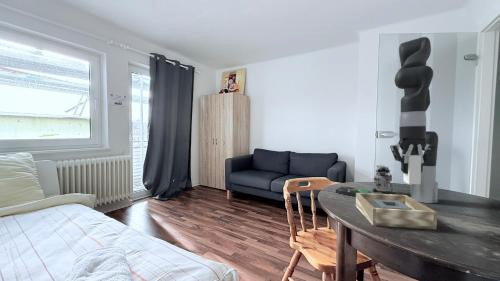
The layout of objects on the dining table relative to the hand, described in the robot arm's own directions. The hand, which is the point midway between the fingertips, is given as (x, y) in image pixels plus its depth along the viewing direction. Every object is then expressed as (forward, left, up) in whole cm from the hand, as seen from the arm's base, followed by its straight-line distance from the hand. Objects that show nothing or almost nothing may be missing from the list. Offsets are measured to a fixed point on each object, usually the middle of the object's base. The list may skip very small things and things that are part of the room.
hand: (411, 173), depth 77 cm
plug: (0, 0, -3) cm, 3 cm away
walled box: (+4, -7, -18) cm, 20 cm away
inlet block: (+4, -7, -17) cm, 19 cm away
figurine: (-6, -41, -19) cm, 45 cm away
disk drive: (+10, -37, -19) cm, 42 cm away
